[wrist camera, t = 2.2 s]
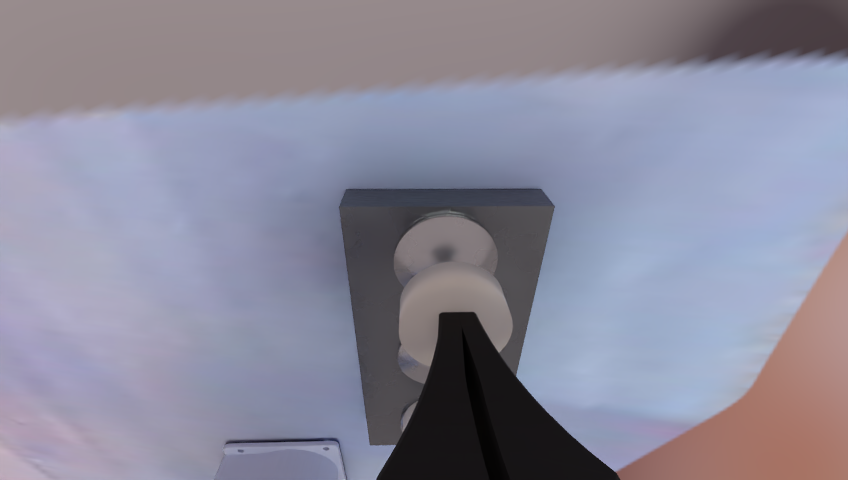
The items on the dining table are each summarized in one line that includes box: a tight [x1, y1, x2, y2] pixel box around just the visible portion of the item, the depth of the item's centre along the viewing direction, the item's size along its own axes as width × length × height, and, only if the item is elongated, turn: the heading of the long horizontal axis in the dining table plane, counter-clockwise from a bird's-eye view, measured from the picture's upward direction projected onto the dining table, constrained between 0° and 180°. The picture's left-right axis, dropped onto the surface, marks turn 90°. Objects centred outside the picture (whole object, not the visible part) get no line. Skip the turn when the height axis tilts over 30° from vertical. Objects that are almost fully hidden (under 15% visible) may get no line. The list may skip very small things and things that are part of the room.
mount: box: [339, 189, 555, 445], centre depth 22 cm, size 10×20×2 cm, turn 179°
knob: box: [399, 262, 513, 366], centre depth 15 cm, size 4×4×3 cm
